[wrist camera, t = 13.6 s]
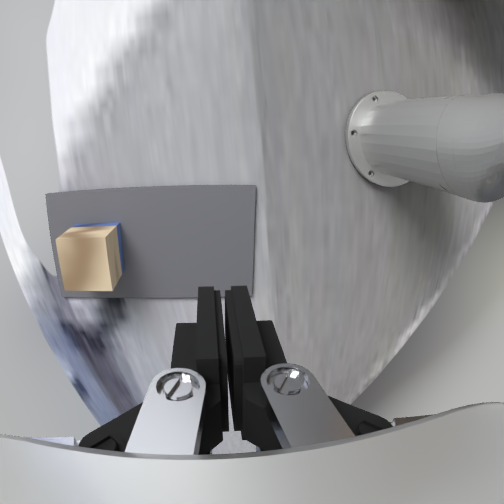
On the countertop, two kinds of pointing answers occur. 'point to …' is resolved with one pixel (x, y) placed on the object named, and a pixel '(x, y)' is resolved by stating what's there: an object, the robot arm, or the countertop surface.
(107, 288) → the cube
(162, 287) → the mat
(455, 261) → the countertop surface
